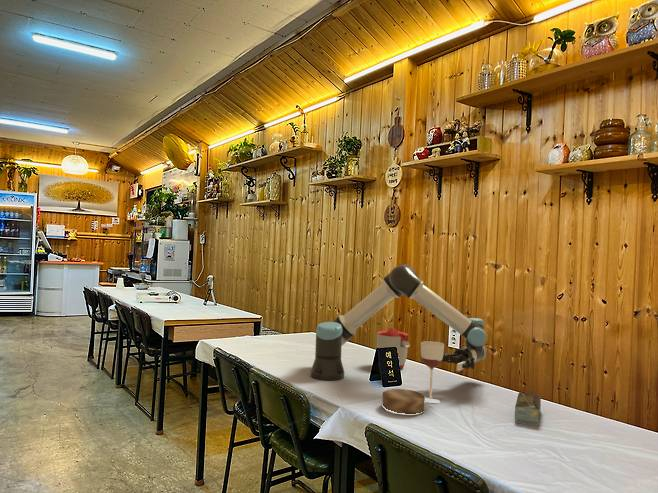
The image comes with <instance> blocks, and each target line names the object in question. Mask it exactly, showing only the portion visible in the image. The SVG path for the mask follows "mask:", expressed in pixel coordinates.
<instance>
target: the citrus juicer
mask: <svg viewBox="0 0 658 493" xmlns="http://www.w3.org/2000/svg"><path fill="white" fill-rule="evenodd" d="M410 346H411V344H410V342H409V333H407V332H404V331H397V329H396V328H395V327H394V326H391V327H390V328H389V329H388V330H379V331H376V349H377V348H383V347H396V348H397V353H398V357H399V363H400V368H401V369H400V370H402V369H404V367H405V364H406V361H407V356H408V348H410Z"/></svg>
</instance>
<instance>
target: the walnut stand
mask: <svg viewBox="0 0 658 493" xmlns="http://www.w3.org/2000/svg"><path fill="white" fill-rule="evenodd" d="M425 397H426V396H425V395H424V394H423V393H421V392H419V391H416V390H413V389H412V390H411V389H405V388H404V389H403V388H392V389H387V390H386V389H385V390H384V391H383V392H382V402H381V403H382V405H383V406H384V407H385V408H386V409H388V410H391V411H394V412H397V413H405V414H416V413H421V412H423V411H424V412H425V403H424V401H425ZM382 405H381V406H382ZM424 412H423V413H424Z"/></svg>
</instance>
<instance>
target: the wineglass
mask: <svg viewBox="0 0 658 493" xmlns="http://www.w3.org/2000/svg"><path fill="white" fill-rule="evenodd" d="M443 353H445V343H444V342H440V341H433V340H431V341H430V340H428V341H427V340H425V341H421V342H420V355H421V360H422V362H423V364H424V365H425V366H426V367H427V368H429V370H430V371H429V372H430V373H429V375H430V376H429V399H432V398H433V396H432V394H433V372H434V371H433V369H435V368H436V367H437V368H438V366H439V365H441V363H442V362H441V361H442V359H443Z"/></svg>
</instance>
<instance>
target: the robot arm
mask: <svg viewBox="0 0 658 493" xmlns="http://www.w3.org/2000/svg"><path fill="white" fill-rule="evenodd" d="M402 296H405V297H407V298H408V299H409V300H410V299H413V300H414V301H416V302H417V303H418V304H420V305H421V306H422V307H424V308H425V309H426V310H428V311H429V312H430V313H431V314H433V315H434V316H435V317H437V318H438V319H440V321H442V322H443V323H445V324H446V325H447V326H449V328H451V329H453V331H455V332H456V333H458V334H459V335H460V336H461V337H463V338H464V339H465V343H464V344H465V346H464V347H461V348H458V349H456V350H454V352H452V353H447V352H444V353H443V359H442V361H441V363H442V362H444V363H445V362H446V363H447V364H450V363H451V364H454V365H456V371H457V372H460V371H462V370H465V369H471V370H475V363H480V362H481V361H482V360H483V359H484V358H486V356H487V351H486V348H485V346H484V344H485V343H486V341H487V333H486V331H485V330H484V328H485V325H484V324H485V323H484V319H482V318H477V317H469V318H468V317H467V316H466V315H464V314H463V313H462V312H461V311H459V310H458V309H456V308H455V307H454V306H452V305H451V304H450V303H449V302H447V301H446V300H444V299H443V298H442V297H441V296H439V295H438V294H437V293H435V292H434V291H433V290H432V289H431V288H429V287H428V286H426V285H424V280H422V279H421V278H419V276H418V274H417V272H416V270H415V269H414V268H413V267H412V266H410V265H409V264H399V265H397V266H395V267H394V268H393V269H391V271H390V272H389V273H388V274H387V275H385V277H383V278H382V283H381V284H380V285H378V287H376V288H375V289H374V290H373V291H371V292H370V293H369V294H368V295H367V296H365V297H364V298H363V299H362V300H360V301H359V302H358V303H357V304H356V305H355V306H354V307H352V308H351V309H350V310H349V311H348V312H346V313H345V314H344V315H343V314H339V315H338V316H336V318H334V319H333V320H332V321H325V322H321V323H318V324H317V326H316V330H315V355H314V361H313V363H312V366H311V370H310V376H312V377H311V378H313V377H314V378H313V379H316V378H318V379H317V380H320V379H323V380H322V381H338V380H343V379H344V378H345V370H344V366H343V361H342V347H343V346H344V345H345V344H346V343H348V341H349V340H350V339H351V338H353V337H354V336H355V335H356V333H357V332H356V331H357V330H358V328H360V327H361V326H362V325H363V324H364V323H366V322H367V321H368V320H369V319H370V318H371V317H373V316H374V315H375V314H376V313H378V312H379V311H380V310H381V309H383V307H385V306H386V305H387V304H388V303H389V302H391V301H392V300H393V299H395V298H397V299H400V298H401V297H402Z"/></svg>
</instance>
